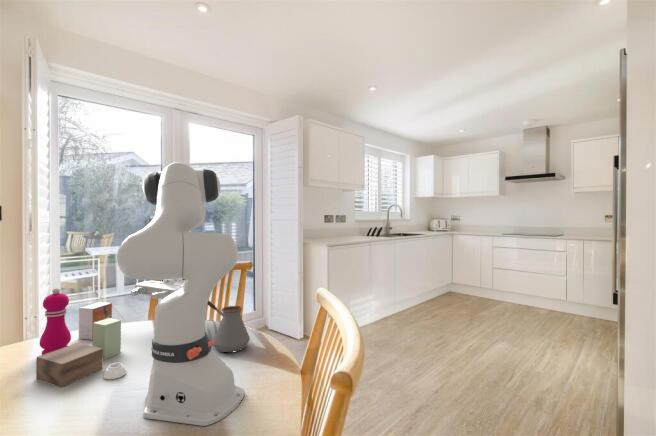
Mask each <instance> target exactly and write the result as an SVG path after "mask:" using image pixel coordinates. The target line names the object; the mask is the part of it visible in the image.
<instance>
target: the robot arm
mask: <svg viewBox="0 0 656 436" xmlns="http://www.w3.org/2000/svg"><path fill="white" fill-rule="evenodd" d="M142 192H143V194H144V197H145V199H146V201H147V202H148V203H149V204H151V205H153V206H156V209H155V214H154V216H153V218H152V220H151V221H150V222H149V223H148V224H147V225H146V226H144V227H143V228H142V229H140V230H138V231H137V232H135V233H132V234H130V235H129V236H127V237H126V238H125V239H124V240H123V241H122V242H121V244H119V247H118V251H117V253H116V254H117V255H116V262H117V265H118V268H119V271H121V273H122V274H123V276H125V277H126V278H128V279H135V280H144V281H142V282H136V283H135V285H134V289H131V290H130V295H131V296H133V297H134V296H136V297H137V296H139V295H143V296H150V297H151V299H153V300H158V299H161V300H160V301H159V302H158V303H157V304H156V306H155V309H154V332H153V333H154V336H153V337H154V338H153V339H152V340H151V348H150V349H151V356H152V358H153V360H152V367H151V370H150V376H149V382H148V391H147V394H146V397H145V401H144V406H145V407H144V410H143V413H142V416H143V418H144V419H151V420H157V421H166V422H172V423H181V424H187V425H194V426H200V427H204V426H205V427H206V426H210V425H212V424H215V423H216V422H219V421H221V420H222V419H224V418H226V417H227V416H228V415H229V414H231V413H232V412H233V411H234V410H235V409H236V408H237V407H238V406H240V404H241V403H242V401H243V400H244V398H245V389H244V388H242V387H240V386H238V385H236V384H235V378H234V377H235V376H234V373H233V370H232V369H231V368H230V367H229V366H228V365H227V364H226V363H225V362H224V361H223V360H221V358H220V357H219V356H218V355H217V354H216V353H214V351H213V350H212V346H214V345H213V344H215V343H213V341H214V340H215V339H214V338H213V339H212V340H210V339H209V336H208V333H207V331H206V320H207V309H208V305H207V304H208V301H210V300H209V299H210V297H211V294H212V292H213V290H214V289H215V288H216V285H217V284H218V283H219V282H220V281H221V280H222V279H223V278H224V277H225V276H226V275H227V274H229V273H230V272H231V271H233V269H234V268H235V266H236V264H237V261H238V257H239V250H238V245H237V243H236V241H235V239H233V237H232V236H230V235H229V234H225V233H220V232H215V231H193V230H195V229H196V228H198V227H200V226H201V224H203V222H204V221H205V218H206V205H205V202H206V203H211V202H214V201H216V200H217V199H218V198H219V195H220V192H221V181H220V178H219V177H218V175H217V173H216V172H215V171H213V170H212V169H206V168H203V169H202V170H201V169H194V168H193V167H192V166H191V165H189V164H188V163H184V162H172V163H170V164H168V165H167V166H165V167H164V168H163V170H162V171H159V170H157V171H151V172H148V173H147V174H146V175H145V176H144V178H143V182H142ZM160 280H161V281H160ZM162 280H163V281H162ZM243 397H244V398H243ZM242 399H243V400H242ZM241 400H242V401H241ZM240 402H241V403H240ZM239 403H240V404H239ZM231 411H232V412H231Z"/></svg>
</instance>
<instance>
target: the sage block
mask: <svg viewBox="0 0 656 436" xmlns="http://www.w3.org/2000/svg"><path fill="white" fill-rule="evenodd" d="M121 337H122V320H121V319H118V318H117V319H116V318H113V317H112V318H108V319H104V320H101V321H98V322H94V323H93V340H92V346H94V347H98V348H103V360H106V359H108V358H111V357H113V356H115V355H116V356H117V355H118V354H120V353H121V351H122V350H121V347H122V338H121Z"/></svg>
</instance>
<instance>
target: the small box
mask: <svg viewBox="0 0 656 436" xmlns="http://www.w3.org/2000/svg"><path fill="white" fill-rule="evenodd" d="M112 313H113V303H112V302H105V301H102V302H101V301H98V302H95V303H92V304H89V305H85V306H82V307H78V339H79V340H80V339H81V340H92V341H93V323H94V322H98V321H101V320H104V319H108V318H112V319H113V317H112V316H113V314H112Z"/></svg>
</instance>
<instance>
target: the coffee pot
mask: <svg viewBox="0 0 656 436" xmlns="http://www.w3.org/2000/svg"><path fill="white" fill-rule="evenodd" d="M207 306H209V307H210V308H212V309H213V310H214V311H216V312H217V313H218V314H219V315H220V316H222V319H221V321H220V323H219V326H218V328H217V330H216V332H215V334H214V336H213V339H215V340H214V341H213V342H212V343H215V344H213V345H212V346H214V348H215V349H217V350H218V351H219V350H220V351H221V352H220V351H219V352H220V353H222V352H233V351H238V350H240V349H242V348H243V349H244V348H245V347H247V346H248V344H249V342H250V340H251V338H250V335H249V333H248V330H247V328H246V325H245V323H244V321H243V318H242V316H241V312H242V310H243V307H242V306H240V305H229V306H228V305H227V306H225V307H223V308H221V309H219V308H217V306H215V305H214V304H213V303H212V302H211V301H210V300H208V304H207ZM243 349H242V350H243Z"/></svg>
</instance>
